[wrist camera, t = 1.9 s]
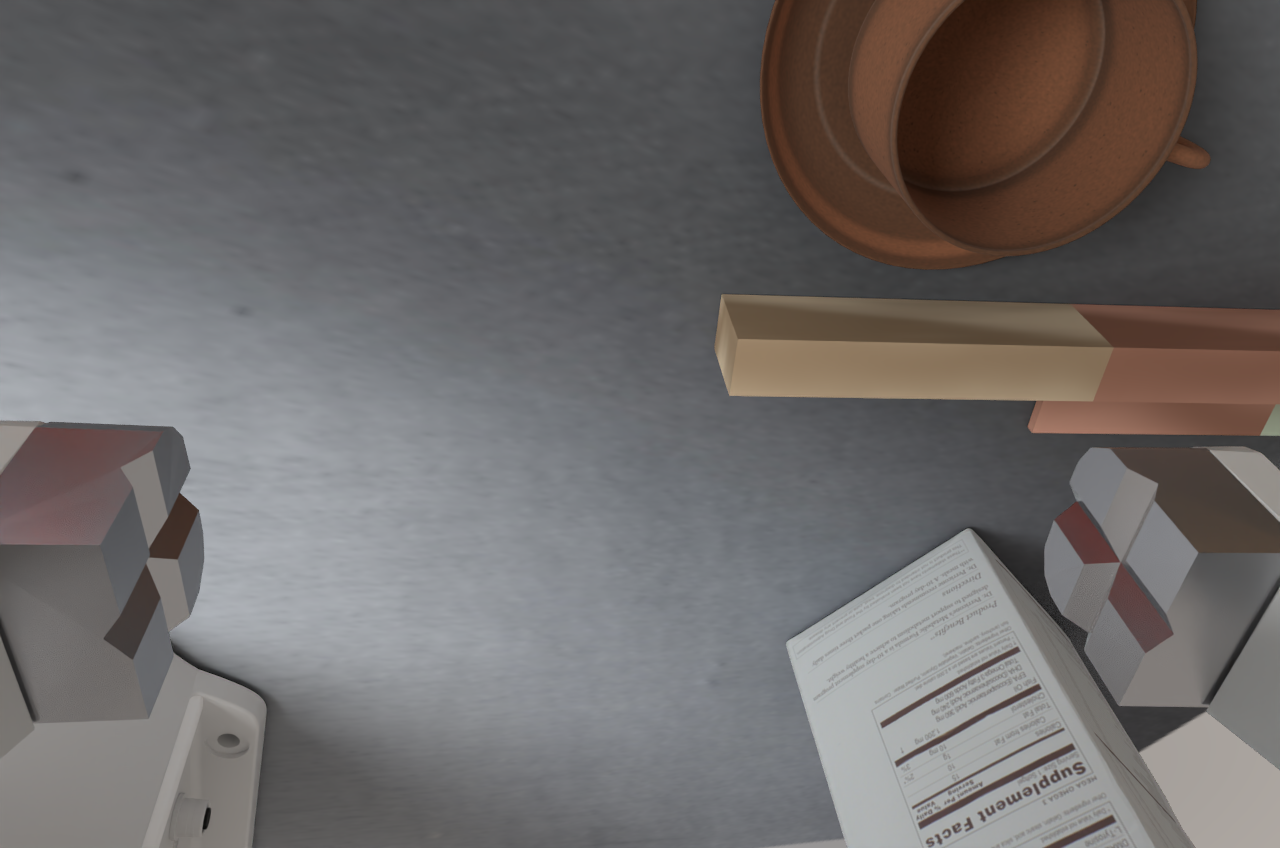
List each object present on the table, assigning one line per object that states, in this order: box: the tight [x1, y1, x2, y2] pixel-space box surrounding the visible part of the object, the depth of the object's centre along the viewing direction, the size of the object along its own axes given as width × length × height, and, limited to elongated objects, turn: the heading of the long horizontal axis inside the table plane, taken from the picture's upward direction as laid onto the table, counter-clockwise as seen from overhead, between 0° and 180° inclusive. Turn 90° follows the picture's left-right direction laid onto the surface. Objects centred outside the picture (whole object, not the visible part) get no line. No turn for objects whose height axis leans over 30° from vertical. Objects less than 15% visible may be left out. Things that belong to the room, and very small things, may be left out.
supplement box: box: [786, 528, 1195, 848], centre depth 35 cm, size 10×9×17 cm
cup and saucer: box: [760, 0, 1211, 270], centre depth 26 cm, size 12×12×6 cm
